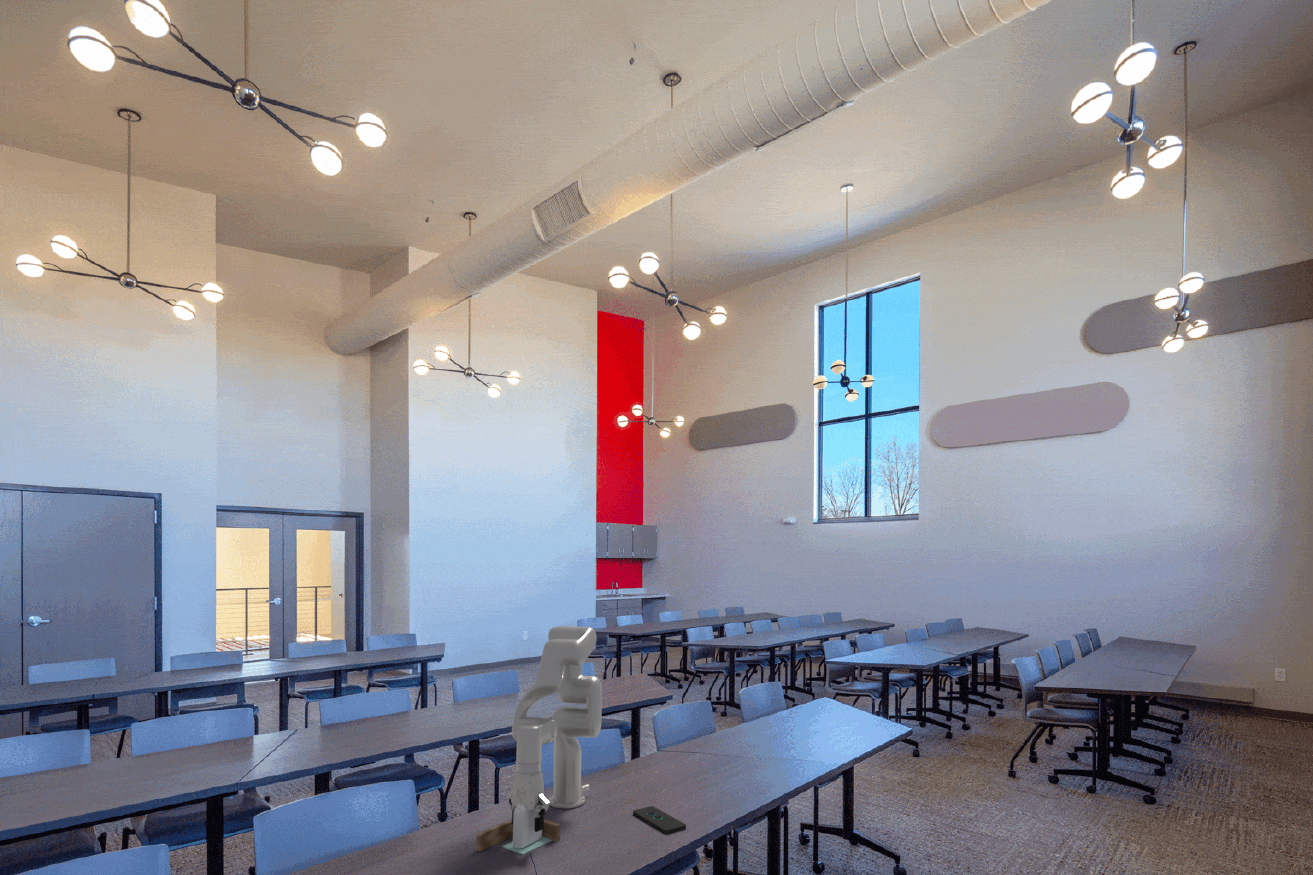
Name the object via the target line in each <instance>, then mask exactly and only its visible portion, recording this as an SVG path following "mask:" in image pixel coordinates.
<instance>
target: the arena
mask: <svg viewBox="0 0 1313 875" xmlns="http://www.w3.org/2000/svg"><path fill="white" fill-rule="evenodd" d="M542 837H545V838H548V839H551V840H552V842H556V843H557V842H559V841H560V840H561V823H557V822H555V821H551V820H547V819H545V818H544V828H543V829H542ZM511 838H513V824H512V818H511V819H509V820H507V821H505V822H502V823H499V824H497V825H494V826H492V827H489V828H487V829H485V830H482V831H480V832H478V833H476V851H477V852H482V851H484V850H486V849H488V848H491V847H492V846H495V845H498V844H499V843H502V842H504V841H507V840H508V839H511Z"/></svg>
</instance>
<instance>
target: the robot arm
mask: <svg viewBox="0 0 1313 875" xmlns="http://www.w3.org/2000/svg"><path fill="white" fill-rule="evenodd" d="M547 635H548V636H547V638H548V640H547V642H545V643H544V646H543V647H542V648H543V649H542V654H541V658H540V662H539V666H538V670H537V671H538V672H537V675H536V681H535V682H534V684H533V685H532V686H531V687H530V688H529V689H527V691H526V692H525V693H524V695H523V696H522V697H521V698H520V700H519V701H518V703H517V705H516V707H515V708H516V709H515V712H514V716H513V720H512V724H511V725H512V726H511V735H512V738H513V739H514V740H515V741H516V757H515V758H516V760H515V764H516V766H515V767H516V768H515V770H514V772H513V777H512V782H511V790H509V791H507V793H506V795H507V798H508V802H509V805H510V809H511V813H512V814H511V819H512V824H513V814H514V809H515V807H516V806H517V805H518V804H519V803H521V805H522V804H524V806H525V808H526V809H527V810H530V811H532V810H534V813H535V815H536V817H535V825H534V831H535V832H538V831H540V830H542V829H543V828H544V819H545V816H546V814H547V813H548V811H549V808H550V806H551V807H552V808H556V809H573V808H578V807H580V806H583V805H584V804H585V802H586V796H584V795H583V794H584V792H586V791H589V790H590V784H587V783H586V784H583V785H582V746H581V743H580V742H579V740H578V739H577V738H596V737H598V736H599V734H600V732H601V729H602V713H603V712H602V711H603V710H602V709H603V684H602V682H601V680H600V678H599V677H597V676H594V675H583V664H584V663H585V662H586V661H587V659H588V658H589V656H590V655H591V653H592V652H593V651H594V649H595V648H596V644H597V633H596V630H595V629H594V628H593V627H590V626H573V625H571V626H569V625H568V626H567V625H561V626H560V625H559V626H554V627H552V628H550V629H549V630H548V634H547ZM553 694H557V698H558V701H560V702H561V703H563V704H564V703H565V704H572V705H573V704H575V705H586V707H577V706H576V707H574V706H573V707H572V706H563V707H559V708H557V709H555V711H554V712H553V714H552V715H551V717H550V718H549V717H539V716H528V713H529V711H530V709H531V708H532V706H533V705H534V704H536V702H538V701H540V700H542V699H544V698H546V697H549V696H550V695H553ZM551 742H553V795H552V796H550V797H549V798H548V799H547V798H546V797H545V787H544V777H543V772H542V747H543V746H544V745H547V744H550V743H551ZM538 808H539V810H540V812H539V811H538Z"/></svg>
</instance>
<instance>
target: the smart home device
mask: <svg viewBox="0 0 1313 875" xmlns="http://www.w3.org/2000/svg"><path fill="white" fill-rule="evenodd" d="M632 815H633V816H634V817H635V818H638V819H640V820H641V821H643V822H644V823H646V824H648V825H649V826H651V827H653V828H654V829H656V830H658V831H660V832H661V833H663V834H665V835H669V834H674V833H677V832H681V831H683V830H686V829H687V824H685V823H684V822H682V821H681V820H679V819H677V818H675V817H674V816H671V815H670V814H668V813H666V812H664V811H662V810H661V809H658V808H657V807H655V806H653V805H650V806H645V807H642V808H638V809H634V810H632Z"/></svg>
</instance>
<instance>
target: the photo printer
mask: <svg viewBox="0 0 1313 875" xmlns="http://www.w3.org/2000/svg"><path fill="white" fill-rule="evenodd" d="M538 811H539V812H540V810H539V808H538ZM535 817H536V815H535V813H534V810H532V811H530V810H527V809H526V808H525V806H524V804H522V805H521V803H519V804H518V805H517V806H516V807H515V809H514V814H513V837H512V841H513V846H514V847H515V848H518V849H521V848H523V847H526V846H528V845H529V844H531V843H533V842H535V841H537V840H539V839H541V837H542V830H540V831H538V832H535V831H534V825H535Z"/></svg>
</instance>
